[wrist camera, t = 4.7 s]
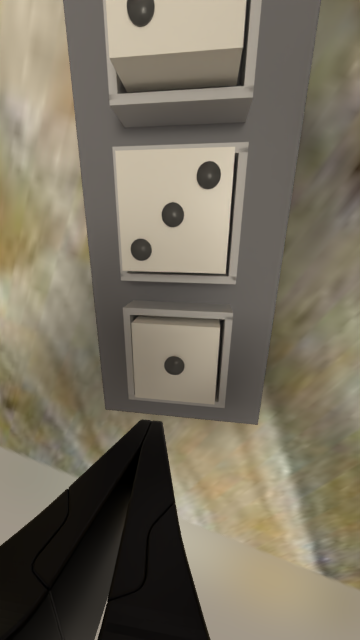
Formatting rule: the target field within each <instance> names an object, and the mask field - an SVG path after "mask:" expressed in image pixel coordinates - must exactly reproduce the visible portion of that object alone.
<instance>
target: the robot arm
mask: <svg viewBox="0 0 360 640" xmlns="http://www.w3.org/2000/svg"><path fill="white" fill-rule="evenodd" d="M107 598H108V601H107ZM106 601H107V602H108V603H107V605H106V609H105V614H104V617H103V622H102V626H101V629H100V633H99V636H98V640H210V637H209V634H208V630H207V627H206V624H205V620H204V617H203V613H202V610H201V606H200V603H199V599H198V596H197V592H196V588H195V585H194V581H193V578H192V574H191V571H190V568H189V564H188V561H187V557H186V553H185V549H184V545H183V541H182V537H181V531H180V526H179V521H178V516H177V509H176V505H175V497H174V491H173V485H172V479H171V472H170V466H169V460H168V454H167V447H166V441H165V435H164V429H163V423H162V422H161V421H151V420H140V421H139V422H138V423H137V424H136V425H135V426H134V427H133V428H132V429H131V430H130V431H129V432H127V433H126V434H125V435H124V436H123V437H122V438H121V439H120V440H119V441H118V442H117V443H116V444H115V445H114V446H112V447H111V448H110V449H109V450H108V451H107V452H106V453H105V454H104V455H103V456H102V457H101V458H100V459H99V460H97V461H96V462H95V463H94V464H93V465H92V466H91V467H90V468H89V469H88V470H87V471H86V472H85V473H84V474H82V475H81V476H80V477H79V478H78V479H77V480H76V481H75V482H74V483H73V484H72V485H71V486H70V487H69V489H66V490H65V491H64V492H63V493H62V494H61V495H60V496H59V497H58V498H57V499H55V500H54V501H53V502H52V503H51V504H50V505H49V506H48V507H47V508H45V509H44V510H43V511H42V512H41V513H40V514H39V515H37V516H36V517H35V518H34V519H33V520H32V521H30V522H29V523H28V524H27V525H25V526H24V527H23V528H22V529H21V530H19V531H18V532H17V533H16V534H14V535H13V536H12V537H11V538H9V539H8V540H7V541H6V542H5V543H3V544H2V545H1V546H0V640H94V639H95V636H96V632H97V629H98V626H99V623H100V620H101V616H102V614H103V611H104V607H105V604H106Z"/></svg>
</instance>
